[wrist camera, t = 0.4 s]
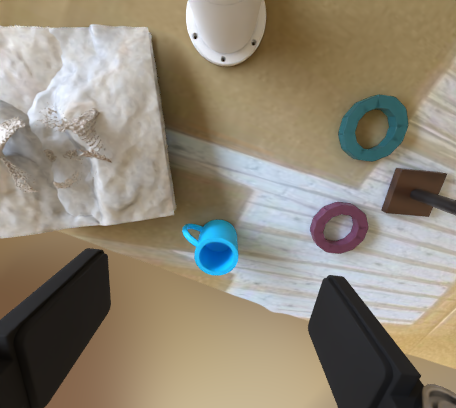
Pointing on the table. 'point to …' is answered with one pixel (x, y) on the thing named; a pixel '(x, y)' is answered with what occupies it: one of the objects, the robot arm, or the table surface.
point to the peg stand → (417, 193)
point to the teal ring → (394, 134)
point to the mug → (214, 246)
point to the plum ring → (351, 239)
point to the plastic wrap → (80, 129)
